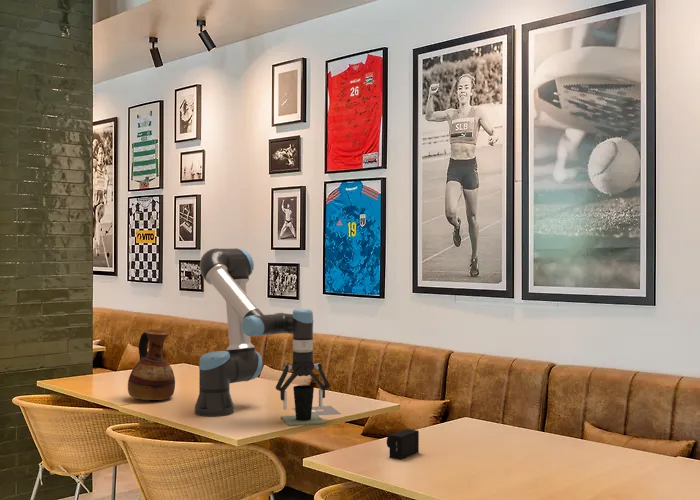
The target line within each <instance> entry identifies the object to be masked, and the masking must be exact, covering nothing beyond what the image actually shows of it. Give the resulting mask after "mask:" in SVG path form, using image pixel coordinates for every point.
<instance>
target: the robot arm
mask: <svg viewBox="0 0 700 500" xmlns="http://www.w3.org/2000/svg"><path fill="white" fill-rule="evenodd" d="M199 261H200V262H199V271H200V274H201V276H202V277H203V279H204V281H205V282H206V283H207V284H209V285H212V286H213V288H214V289H215V290H216V291H217V292H218V293H219V295H220V296H221V298H223V299H224V301H225V307H226V320H227V329H228V344H229V345H228V346H227V347H226V349H225V350H217V351H209V352H207V353H204V354H202V355H201V356H200V357H199V364H198V365H199V366H198V369H199V373H198V374H199V381H198V382H199V383H198V384H199V394H198V395H197V396H198V397H197V400H196V403H195V406H194V414H195V415H196V416H201V417H222V416H229V415H231V414H233V413H235V405H234V402H233V400H232V396H231V393H230V384H234V383H241V382H249V381H252V380H255V379H257V378H258V377H259V375H260V374H261V372H262V369H263V358H262V356H261V354H260V353H259V352H258V351H256V346H255V345H254V344H253V343H252V341H251V340H252V339H251V337H260V336H261V337H262V336H269V335H279V334H287V335H288V334H289V335H292V350H293V352H292V364H287V363H285V364H284V366H283V371H282V373H281V375H280V377H279V379H278V381H277V384H276V385H275V390H276V391H279V392H280V401H282V405H283V406H282V409H283V410H284V411H287V410H288V408H287V407H288V406H287V399H288V397H287V396H288V395H287V391H286V390H287V389H288V387H289V386H290V385H291V383H292V382H293V381H294V380H295V379H296V378H297V377H309V376H310V377H311V378H312V380H313V381H314V382H315V383H316V384H317V385H318V387H320V388H319V389H318V406H319V407H320V408H323V403H324V402H323V399H325V398H326V390H327V389H329V388H330V387H331V386H330V383H329V381H328V379H327V376H326V375H325V373H324V371H323V368H322V364H321V363H320V362H317V363H314V352H313V351H314V350H313V349H314V312H313V310H312V309H309V308H308V309H307V308H306V309H305V308H298V309H294V310H293V311H292V313H285V312H275V313H273V314H264V313H263V312H262V311H261V310H260V309H259V307H257V305H256V304H255V302H253V300H252V299H251V298H250V297H249V296H248V294H247V283H248V282H249V281H250V276H251V275H252V274H253V271H254V265H255V263H254V260H253V257H252V255H251V254H250V252H248V251H247V249H243V248H234V247H233V248H212V249H209V250H207V251H206V252H205V253H203V254H202V257H201V259H200V260H199ZM291 369H292V370H293V372H292V373H291V374H290V376H288V379H286V377H287V375H288V373H289V372H290V371H291ZM314 369H316V370H317V372H318V374H319V375H320V377H321V380H322V382H323V383H322V382H321V381H320V380H319V378H318V377H317V376H316V375H315V373H313V370H314ZM285 379H286V381H285ZM284 381H285V382H284Z"/></svg>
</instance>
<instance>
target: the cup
mask: <svg viewBox="0 0 700 500" xmlns="http://www.w3.org/2000/svg"><path fill="white" fill-rule="evenodd" d="M314 390H315V386H313V385H309V384H300V385H295V386H293V399H294V400H293V401H294V408H295V410H294V412H295V413H294V414H295V416H296V420H299V421H307V420H311V413H312V407H313V401H314Z"/></svg>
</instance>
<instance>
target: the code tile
mask: <svg viewBox="0 0 700 500" xmlns="http://www.w3.org/2000/svg"><path fill="white" fill-rule="evenodd" d="M292 410H293V411H295V407H292ZM313 414H317V415H318V416H328V415H329V416H330V415H341V414H342V413H341V412H340V411H338V410H337V409H336V408H334V407H333V406H332V405H324V406H323V408H320V407H319V405H318V406H312V413H311V415H313Z"/></svg>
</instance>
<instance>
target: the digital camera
mask: <svg viewBox="0 0 700 500" xmlns="http://www.w3.org/2000/svg"><path fill="white" fill-rule="evenodd" d="M419 434H420V432H419V430H415V429H409V428H406V429H403V430H401V431H398V432H394V433H388V436H387V437H386V446H387V448H389V458H390V459H395V460H400V461H401V460H404V459H407V458H408V457H412V456H414V455H416V454H419V452H420V451H419V449H420V448H419V447H420V445H419V440H420V437H419Z"/></svg>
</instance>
